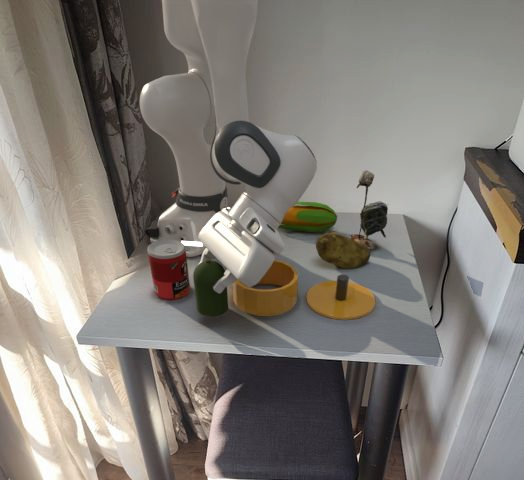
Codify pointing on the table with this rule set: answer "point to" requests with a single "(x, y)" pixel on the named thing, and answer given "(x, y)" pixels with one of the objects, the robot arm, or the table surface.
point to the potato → (342, 250)
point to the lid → (340, 299)
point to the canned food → (169, 269)
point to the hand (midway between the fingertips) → (207, 281)
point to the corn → (309, 217)
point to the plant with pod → (370, 215)
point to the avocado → (209, 289)
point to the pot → (269, 292)
